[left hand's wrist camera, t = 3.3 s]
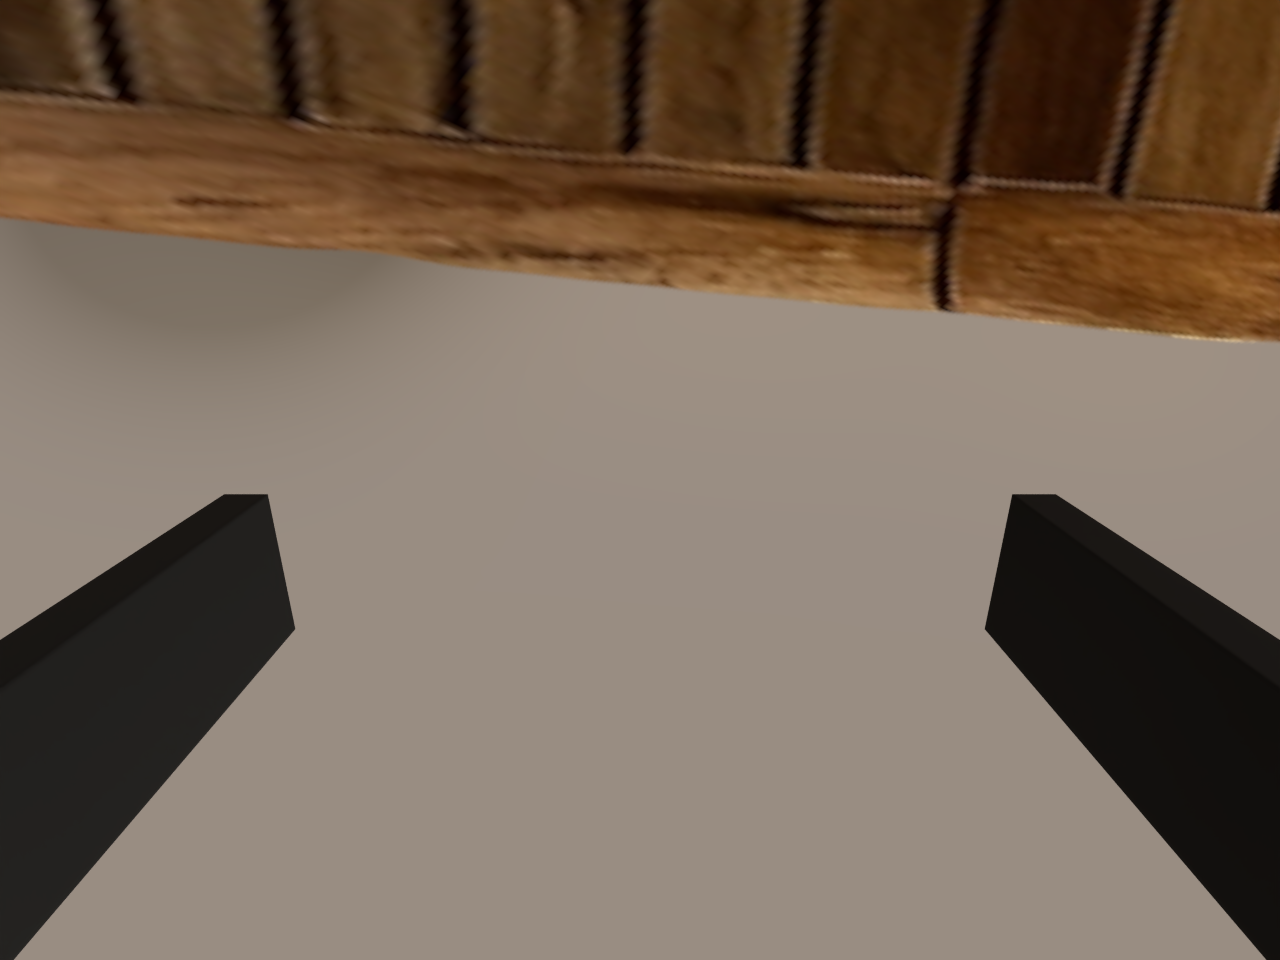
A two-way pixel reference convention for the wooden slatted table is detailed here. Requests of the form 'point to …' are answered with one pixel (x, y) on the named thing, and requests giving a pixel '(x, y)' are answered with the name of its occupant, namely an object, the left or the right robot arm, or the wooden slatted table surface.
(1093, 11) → the wooden slatted table surface
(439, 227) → the wooden slatted table surface
